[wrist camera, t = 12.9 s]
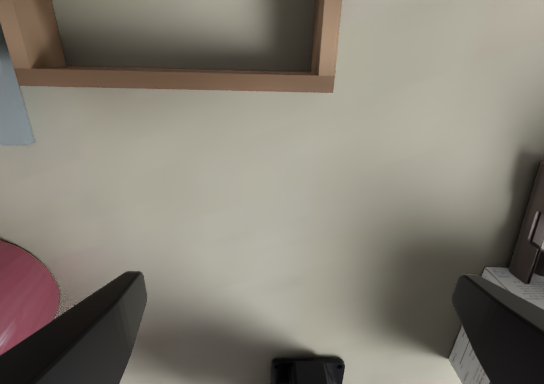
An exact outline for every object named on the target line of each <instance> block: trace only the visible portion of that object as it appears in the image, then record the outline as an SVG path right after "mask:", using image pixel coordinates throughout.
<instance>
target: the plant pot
mask: <svg viewBox="0 0 544 384" xmlns="http://www.w3.org/2000/svg"><path fill="white" fill-rule="evenodd" d="M59 303H60V293H59V289H58V286H57V283H56V281H55V279H54V278H53V276H52V274H51V273H50V272H49V270H48V269H47V268H46V267H45V266H44V265H43V264H42V263H41V262H40V261H39V260H38V259H36V258H35V257H34V256H32V255H31V254H29V253H28V252H26V251H25V250H23V249H21V248H19V247H17V246H15V245H13V244H10V243H7V242H4V241H1V240H0V355H1V354H3V353H4V352H6V351H7V350H9V349H10V348H12V347H13V346H15V345H16V344H18V343H19V342H21V341H22V340H24V339H25V338H27V337H28V336H30V335H32V334H33V333H35V332H36V331H38V330H39V329H41V328H42V327H44V326H45V325H47V324H48V323H50V322H51V321H53V319H54V317H55V315H56V313H57V311H58V308H59Z"/></svg>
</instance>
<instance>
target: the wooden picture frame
mask: <svg viewBox="0 0 544 384" xmlns="http://www.w3.org/2000/svg"><path fill="white" fill-rule="evenodd" d="M341 7H342V0H316V3H315V17H314V32H313V46H312V61H311V72H298V71H257V70H216V69H175V68H134V67H93V66H66V62H65V58H64V53H63V49H62V45H61V40H60V36H59V31H58V27H57V22H56V18H55V14H54V9H53V5H52V0H0V22H1V26H2V29H3V33H4V36H5V40H6V43H7V47H8V50H9V54H10V57H11V60H12V64H13V67H14V71H15V74H16V78H17V81H18V85H19V86H58V87H102V88H146V89H189V90H233V91H277V92H321V93H333V88H334V78H335V67H336V57H337V47H338V37H339V27H340V17H341Z"/></svg>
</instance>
